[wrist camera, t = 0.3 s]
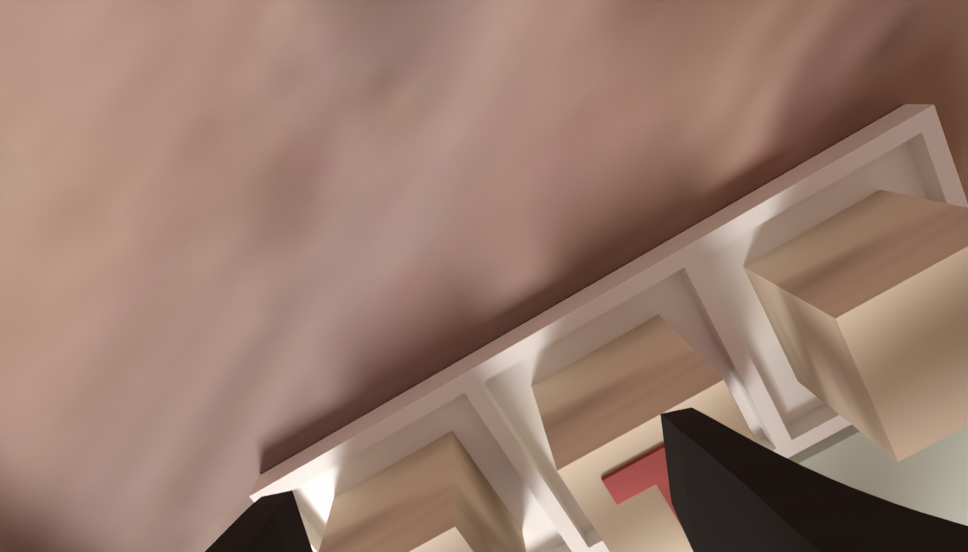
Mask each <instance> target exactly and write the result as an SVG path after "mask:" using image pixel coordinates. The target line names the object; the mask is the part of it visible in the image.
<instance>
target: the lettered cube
mask: <svg viewBox="0 0 968 552" xmlns="http://www.w3.org/2000/svg"><path fill="white" fill-rule="evenodd" d="M531 387H532V391H533V394H534V397H535V400H536V404H537V407H538V410H539V414H540V417H541V420H542V423H543V427H544V430H545V433H546V436H547V440H548V443H549V446H550V450H551V453H552V456H553V459H554V463H555V466H556V469H557V472H558V473H559V475H560V476H561V478H562V479H563V481H564V482H565V484H566V485H567V487H568V489H569V490H570V492H571V493H572V495H573V496H574V498H575V499H576V501H577V502H578V504H579V505H580V507H581V508H582V510H583V512H584V513H585V515H586V516H587V518H588V519H589V521H590V522H591V524H592V525H593V527H594V528H595V530H596V531H597V533H598V535H599V536H600V538H601V539H602V541H603V542H604V544H605V545H606V547H607V548H608V550H609V551H610V552H693V550H692V548H691V546H690V543H689V541H688V539H687V537H686V535H685V533H684V530H683V528H682V526H681V524H680V521H679V519H678V517H677V515H676V512H675V510H674V508H673V505H672V503H671V496H670V487H669V479H668V471H667V463H666V455H665V447H664V439H663V431H662V423H661V415H660V414H662V413H667V412H671V411H676V410H681V409H686V408H691V407H692V408H694V409H696V410H698V411H700V412H702V413H704V414H705V415H707V416H709V417H711V418H713V419H714V420H716V421H718V422H720V423H722V424H723V425H725V426H727V427H729V428H731V429H732V430H734V431H736V432H738V433H740V434H742V435H743V436H745V437H747V438H749V439H751V440H753V441H754V442H756V440H755V438H754V436H753V434H752V432H751V430H750V428H749V427H748V425H747V423H746V421H745V419H744V417H743V415H742V413H741V411H740V409H739V407H738V405H737V403H736V402H735V400H734V398H733V396H732V394H731V392H730V390H729V389H728V387H727V385H726V383H725V381H724V380H723V379H722V378H721V376H720V375H719V374H718V373H717V372H716V371H715V370H714V369H713V368H712V367H711V366H710V365H709V364H708V363H707V362H706V361H705V360H704V359H703V358H702V357H701V356H700V355H699V354H698V353H697V352H696V351H695V350H694V349H693V348H692V347H691V346H690V345H689V344H688V343H687V342H686V341H685V340H684V339H683V338H682V337H681V336H680V335H679V334H678V333H677V332H676V331H675V330H674V329H673V328H672V327H671V326H670V325H669V324H668V323H667V322H666V321H665V320H664V319H663V318H662V317H661V316H660V315H659V314H658V315H657V316H655V317H653V318H651V319H649V320H648V321H646V322H644V323H642V324H641V325H639V326H637V327H635V328H633V329H632V330H630V331H628V332H626V333H625V334H623V335H621V336H619V337H618V338H616V339H614V340H612V341H610V342H609V343H607V344H605V345H603V346H602V347H600V348H598V349H596V350H594V351H593V352H591V353H589V354H587V355H586V356H584V357H582V358H580V359H578V360H577V361H575V362H573V363H571V364H570V365H568V366H566V367H564V368H562V369H561V370H559V371H557V372H555V373H554V374H552V375H550V376H548V377H547V378H545V379H543V380H541V381H539V382H538V383H536V384H534V385H532V386H531ZM756 443H757V442H756Z"/></svg>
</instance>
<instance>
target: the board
mask: <svg viewBox="0 0 968 552" xmlns="http://www.w3.org/2000/svg"><path fill="white" fill-rule="evenodd" d="M788 459H790V460H792V461H794V462H796V463H798V464H800V465H802V466H804V467H806V468H809V469H811V470H813V471H815V472H818V473H820V474H822V475H824V476H826V477H829V478H831V479H833V480H835V481H838V482H840V483H843V484H845V485H847V486H850V487H852V488H855V489H858V490H860V491H863V492H866V493H868V494H871V495H874V496H876V497H879V498H882V499H884V500H887V501H890V502H892V503H895V504H898V505H901V506H904V507H907V508H910V509H913V510H916V511H919V512H922V513H926V514H929V515H933V516H936V517H939V518H943V519H946V520H949V521H953V522H956V523H959V524H963V525H966V526H968V426H966V427H965V428H963V429H961V430H959V431H957V432H955V433H953V434H951V435H949V436H947V437H945V438H943V439H941V440H939V441H937V442H936V443H934V444H932V445H930V446H928V447H926V448H924V449H922V450H920V451H918V452H916V453H914V454H912V455H910V456H909V457H907V458H905V459H903V460H901V461H899V462H898V461H897V460H896V459H894V458H893V457H892V456H890V455H889V454H888V453H887V452H885V451H884V450H883V449H882V448H880V447H879V446H878V445H877V444H875V443H874V442H873V441H872V440H870V439H869V438H868V437H867V436H865V435H864V434H863V433H862V432H860V431H859V430H858V429H857V428H855V427H854V426H853V425H852V424H851V425H850V426H848V427H846V428H844V429H842V430H840V431H838V432H836V433H834V434H832V435H831V436H829V437H827V438H825V439H823V440H821V441H819V442H817V443H815V444H814V445H812V446H810V447H808V448H806V449H804V450H802V451H800V452H798V453H796V454H795V455H793V456H791V457H789V458H788Z"/></svg>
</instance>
